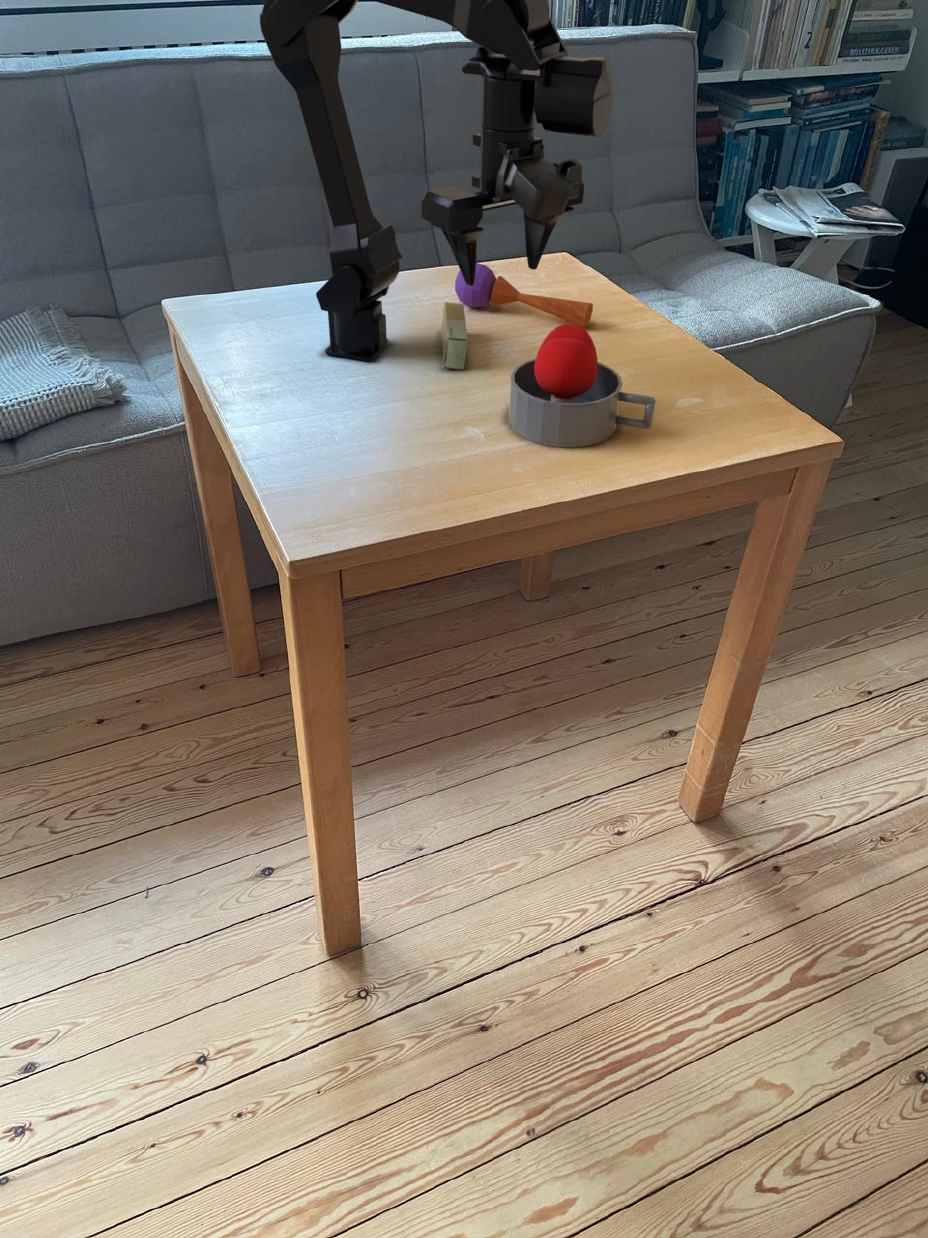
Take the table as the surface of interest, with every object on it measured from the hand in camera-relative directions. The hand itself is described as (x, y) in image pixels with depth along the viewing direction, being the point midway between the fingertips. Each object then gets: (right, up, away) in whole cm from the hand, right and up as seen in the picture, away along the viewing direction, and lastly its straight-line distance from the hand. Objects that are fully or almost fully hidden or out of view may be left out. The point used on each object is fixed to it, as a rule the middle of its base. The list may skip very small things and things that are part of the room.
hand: (501, 276), depth 106 cm
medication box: (-6, -4, +15) cm, 17 cm away
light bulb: (+7, -16, +1) cm, 17 cm away
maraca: (+4, +4, +25) cm, 26 cm away
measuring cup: (+9, -17, 0) cm, 19 cm away
